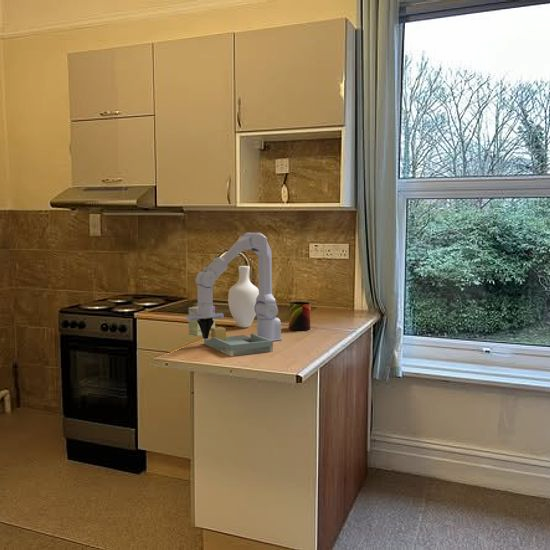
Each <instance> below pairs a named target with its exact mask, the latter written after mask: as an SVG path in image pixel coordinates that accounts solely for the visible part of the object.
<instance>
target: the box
mask: <svg viewBox="0 0 550 550" xmlns="http://www.w3.org/2000/svg"><path fill="white" fill-rule="evenodd" d="M213 313H216V306H215V305H213ZM195 314H198V305H197V306H192V307H191V306H189V307H188V315H195ZM210 318H211V317H210ZM198 319H199V318H198ZM213 320H214V323H213V325H212V327H211V328H215V327H216V319H213ZM188 335H190V336H195V337H198V336H202V332H201V329H200V326H199V324H198V323H197V320H194V321H188ZM209 335H211V329H210V332H209Z"/></svg>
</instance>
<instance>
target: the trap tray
mask: <svg viewBox="0 0 550 550" xmlns="http://www.w3.org/2000/svg"><path fill="white" fill-rule="evenodd" d="M203 340H204V341H203V343H204V345H206V346H208V347H210V348H212V349H215V350H217V351H218V352H221V353H223V354H225V355H227V356H229V357H239V356H246V355H253V354H262V353H273V349H274V347H273V346H274V345H273V344H274V341H272V340H269V339H267V338H264V337H261V336H258V335H257V333H256V334H255V333H250V336H248V335H244V334H239V335H229V336H228V335H226V340H224V341H223V340H221V339H218V338H216V337H213V340H211V337H210V338H209V337H208V339H204V338H203Z"/></svg>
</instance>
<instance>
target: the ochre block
mask: <svg viewBox="0 0 550 550" xmlns="http://www.w3.org/2000/svg"><path fill="white" fill-rule="evenodd" d="M226 336H227V329H226V328H225V327H223V326H217V327H216V326H215V328H211V334H210V338H211V340H213V337H216V338H218V339H221V340H223V341H224V340H226Z"/></svg>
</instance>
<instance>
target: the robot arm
mask: <svg viewBox="0 0 550 550" xmlns="http://www.w3.org/2000/svg"><path fill="white" fill-rule="evenodd" d="M248 250H250V251H252V252H254V253H255V254H256V256H257V259H258V260H257V261H258V262H257V263H258V266H257V267H258V276H257V277H258V290H259V295H258V296H257V298H256V304H255V306H254V311H255V313H256V335H258V336H261V337H264V338H267V339H269V340H272V341H273V342H274V341H282V339H283V338H282V322H281V319H280V318H279V317H276V316H277V315H278V314H279V309H278V305H277V300H276V298H275V297H274V295H273V270H272V268H273V262H272V260H273V255H272V248H271V247H270V244H269V242H268V237H267V236H265V235H264V234H263V233H261V232H250V231H249V232H245V233H243V234H242V236H240V237H238V239H237V241H236V242H235V243H233V245H232V246H231V247H230V248H229V249H228V250H227V251H226V252H225V253H224V254H223V255H222V257H216V258H213V259H211V261H212V262H211V263H209V265H208V266H207V267H204V268H203V271H200V272H198V273H197V274H196V277H195V278H194V281H195V284H196V285H197V306H198V314H195V315H189V314H188V315H186V316H185V317H186V322H189V321H194V320H197V323H198V324H199V326H200V329H201V332H202V335H201V336H202V339H203V340H204V339H208V338H209V335H210V334H209V332H210V329H211V327H212V325H213V323H214V320H213V319H215V320H217V319H218V320H219V319H224V317H225V316H224V313H223V312H215V313H213V306H214V305H213V304H214V303H213V302H214V298H213V297H214V294H213V291H214V290H213V286H215V284H216V281H217V279H218V278H219V277H220V276H221V275H222V274H224V272H225V271H226V270H227V269H228V267H229V263H230V262H231V261H232V260H234V259H235V258H236V257H237V256H238V255H239V254H240V253H242V252H244V251H248ZM210 317H211V318H210ZM198 318H199V319H198Z"/></svg>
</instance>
